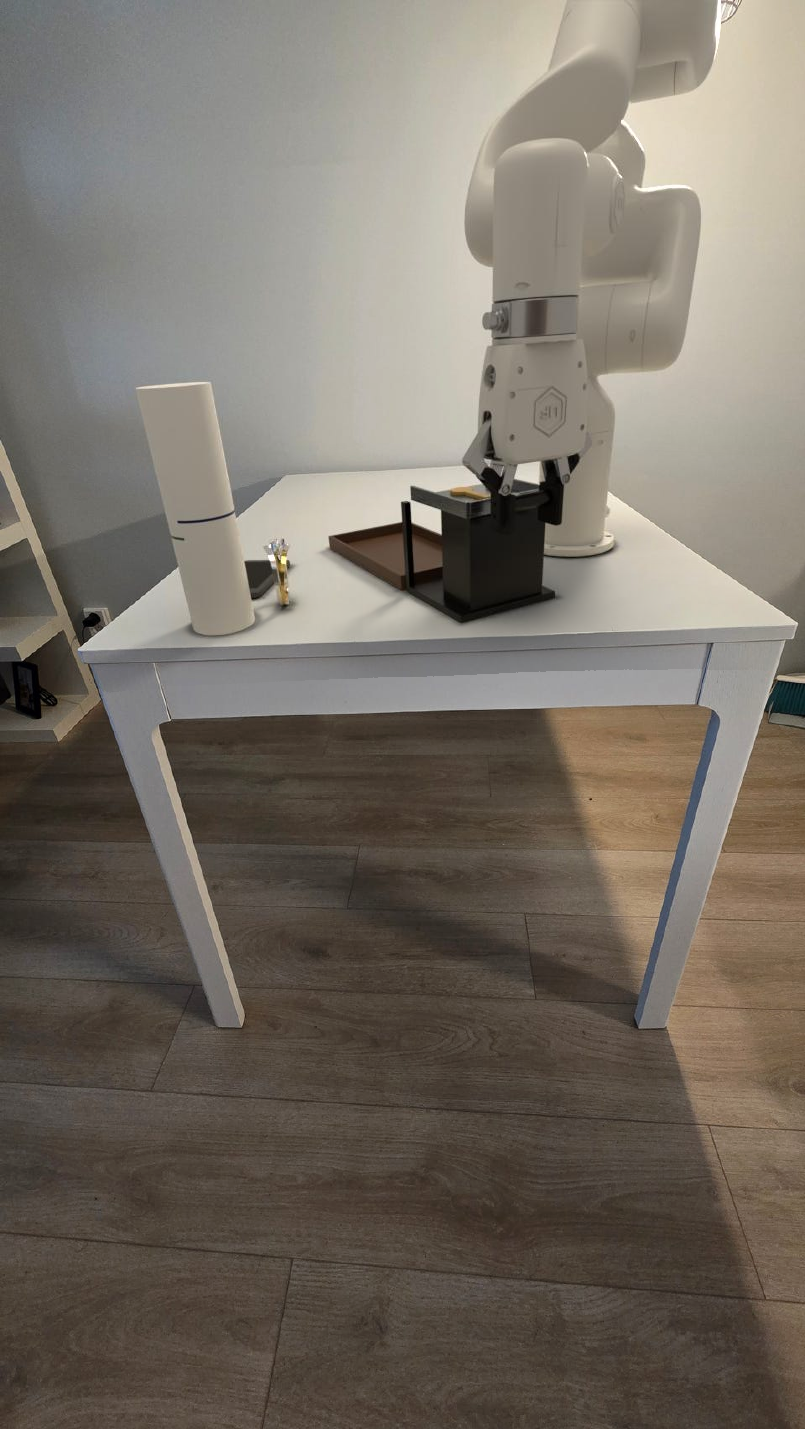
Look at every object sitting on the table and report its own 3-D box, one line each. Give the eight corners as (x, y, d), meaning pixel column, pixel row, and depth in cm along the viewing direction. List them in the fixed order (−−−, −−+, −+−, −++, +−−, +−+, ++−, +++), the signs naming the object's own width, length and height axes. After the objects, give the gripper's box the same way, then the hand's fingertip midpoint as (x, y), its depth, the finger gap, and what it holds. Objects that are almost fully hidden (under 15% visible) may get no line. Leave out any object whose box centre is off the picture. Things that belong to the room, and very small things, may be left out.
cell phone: (205, 598, 83) (204, 592, 83) (244, 564, 95) (243, 559, 94) (259, 598, 82) (258, 592, 81) (292, 564, 94) (291, 559, 93)
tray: (329, 548, 100) (328, 536, 99) (408, 532, 105) (407, 520, 104) (401, 590, 82) (400, 576, 81) (492, 568, 87) (492, 554, 86)
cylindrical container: (239, 636, 72) (189, 386, 59) (181, 634, 73) (120, 390, 61) (264, 612, 78) (223, 380, 65) (210, 611, 79) (159, 384, 67)
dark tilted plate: (410, 500, 76) (409, 480, 75) (488, 486, 80) (488, 467, 79) (487, 525, 63) (487, 503, 62) (573, 507, 68) (575, 486, 66)
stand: (405, 590, 81) (400, 501, 76) (492, 570, 86) (493, 485, 81) (461, 623, 71) (459, 523, 66) (555, 597, 76) (561, 502, 71)
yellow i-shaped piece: (445, 492, 76) (445, 489, 76) (465, 489, 77) (465, 485, 77) (478, 502, 71) (478, 498, 70) (499, 498, 72) (499, 494, 72)
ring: (295, 613, 77) (285, 547, 73) (268, 615, 77) (257, 549, 73) (301, 593, 83) (291, 531, 79) (276, 595, 83) (265, 533, 79)
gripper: (477, 328, 51) (477, 551, 61) (636, 317, 58) (614, 521, 67) (430, 331, 57) (437, 535, 67) (579, 321, 64) (566, 508, 73)
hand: (526, 526), depth 67 cm, fingers closed on dark tilted plate, 5 cm apart
